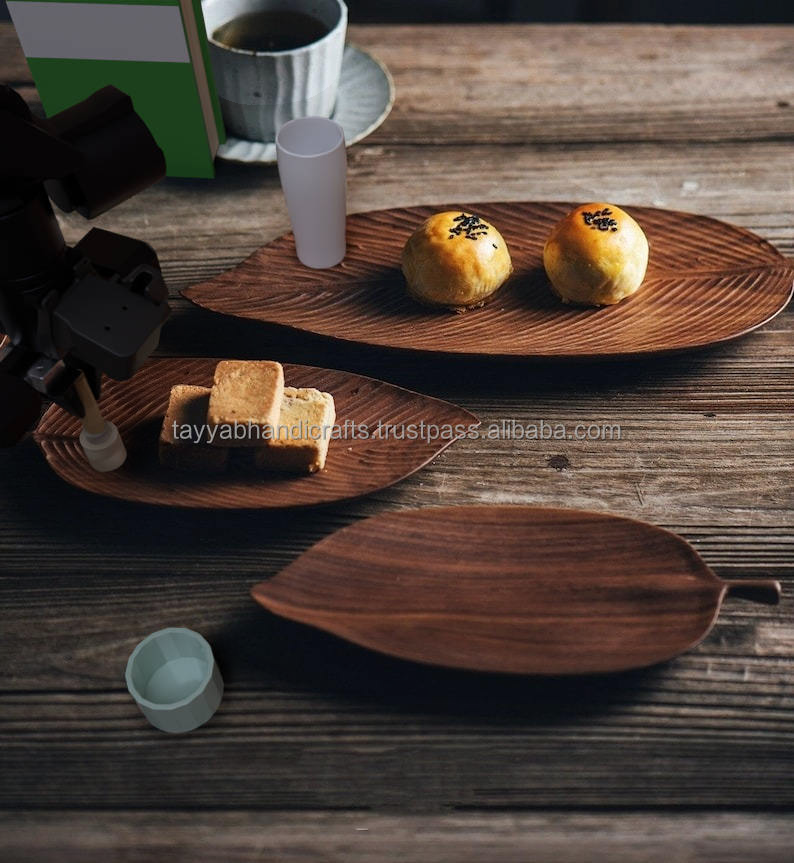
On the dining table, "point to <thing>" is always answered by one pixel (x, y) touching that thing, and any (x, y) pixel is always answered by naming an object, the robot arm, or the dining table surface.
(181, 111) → the hardback book
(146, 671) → the cup
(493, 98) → the dining table surface
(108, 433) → the brush
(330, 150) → the drinking glass
